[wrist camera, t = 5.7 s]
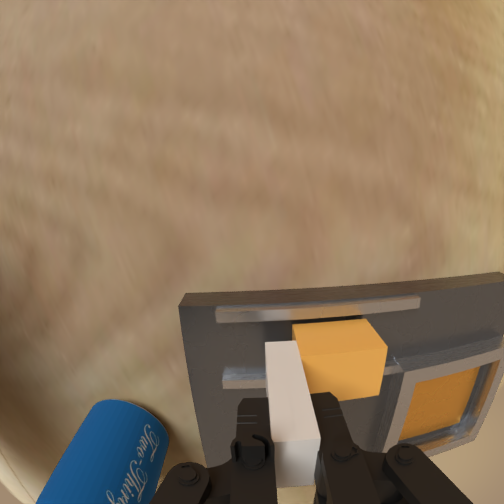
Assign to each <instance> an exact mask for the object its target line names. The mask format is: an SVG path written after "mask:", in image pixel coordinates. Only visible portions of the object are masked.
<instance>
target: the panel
mask: <svg viewBox="0 0 504 504" xmlns="http://www.w3.org/2000/svg"><path fill="white" fill-rule="evenodd" d="M178 307H179V315H180V322H181V329H182V336H183V343H184V350H185V356H186V362H187V368H188V374H189V380H190V386H191V391H192V397H193V402H194V407H195V412H196V417H197V422H198V427H199V432H200V437H201V441H202V446H203V451H204V455H205V459H206V464H207V468H210V467H215V466H219V465H222V464H224V463H226V462H228V461H229V460H230V459H231V458H232V456H231V449H230V445H231V443H232V440H233V439H235V438H236V426H237V410H238V405H239V404H240V402H241V401H242V399H243V398H263V397H267V394H266V364H265V342H278V341H292V324H306V323H320V322H333V321H344V320H355V319H365V318H366V319H367V321H368V322H369V323H370V324H371V326H372V327H373V328H374V330H375V331H376V332H377V333H378V335H379V336H380V337H381V339H382V340H383V341H384V343H385V344H386V345H387V347H388V349H387V355H386V361H385V367H384V372H383V377H382V382H381V387H380V392H379V395H376V396H370V397H364V398H358V399H351V400H344V401H338V402H339V404H340V408H341V410H342V413H343V416H344V418H345V421H346V424H347V427H348V430H349V432H350V435H351V438H352V440H353V442H354V443H355V444H357V445H358V446H359V447H360V448H361V449H362V450H365V451H368V452H379V453H387V452H388V450H389V449H390V448H391V447H393V446H394V445H397V444H401V443H409V444H412V445H415V446H417V447H418V448H419V449H421V450H422V451H423V453H424V454H425V455H426V456H427V457H430V456H433V455H436V454H439V453H442V452H445V451H448V450H451V449H453V448H456V447H459V446H461V445H464V444H466V443H469V442H471V441H473V440H475V438H476V436H477V434H478V432H479V430H480V428H481V426H482V424H483V422H484V420H485V418H486V415H487V413H488V411H489V409H490V406H491V404H492V402H493V399H494V397H495V394H496V392H497V389H498V387H499V384H500V382H501V379H502V376H503V373H504V337H503V335H504V274H503V273H501V272H493V273H485V274H476V275H467V276H458V277H448V278H438V279H427V280H417V281H405V282H393V283H381V284H368V285H354V286H339V287H323V288H306V289H287V290H266V291H242V292H211V293H186V294H185V295H184V297H183V299H182V301H181V302H180V304H179V306H178Z"/></svg>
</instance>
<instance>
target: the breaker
mask: <svg viewBox="0 0 504 504" xmlns="http://www.w3.org/2000/svg"><path fill="white" fill-rule="evenodd" d="M292 341H296V342H297V346H298V350H299V354H300V357H301V361H302V365H303V369H304V373H305V377H306V381H307V385H308V389H309V393H310V394H312V393H323V392H331V393H332V394H333V395H334V396H335V397H336V398H337V399H338V401H344V400H351V399H358V398H364V397H370V396H376V395H379V392H380V387H381V382H382V377H383V372H384V367H385V361H386V355H387V349H388V347H387V345H386V344H385V343H384V341H383V340H382V339H381V337H380V336H379V335H378V333H377V332H376V331H375V330H374V328H373V327H372V326H371V324H370V323H369V322H368V321H367V319H366V318H365V319H355V320H344V321H333V322H320V323H306V324H292Z"/></svg>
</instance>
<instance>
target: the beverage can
mask: <svg viewBox="0 0 504 504" xmlns="http://www.w3.org/2000/svg"><path fill="white" fill-rule="evenodd" d="M168 445H169V437H168V433H167V431H166V429H165V428H164V426H163V425H162V423H161V422H160V421H159V420H158V419H157V418H156V417H155V416H153V415H152V414H151V413H149V412H148V411H147V410H145V409H143V408H142V407H140V406H138V405H136V404H133V403H130V402H127V401H123V400H117V399H106V400H102V401H99V402H98V403H96V404H95V405H94V406H93V407H92V409H91V410H90V412H89V413H88V415H87V417H86V418H85V420H84V421H83V423H82V425H81V426H80V428H79V430H78V431H77V433H76V434H75V436H74V438H73V439H72V441H71V443H70V444H69V446H68V448H67V449H66V451H65V453H64V454H63V456H62V458H61V459H60V461H59V463H58V465H57V466H56V468H55V470H54V471H53V473H52V475H51V477H50V478H49V480H48V482H47V484H46V485H45V487H44V489H43V491H42V492H41V494H40V496H39V498H38V500H37V502H36V504H149V503H150V501H151V500H152V498H153V496H154V495H155V491H156V488H157V484H158V480H159V477H160V473H161V470H162V466H163V463H164V459H165V455H166V452H167V448H168Z"/></svg>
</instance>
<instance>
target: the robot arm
mask: <svg viewBox="0 0 504 504" xmlns="http://www.w3.org/2000/svg"><path fill="white" fill-rule="evenodd" d="M265 364H266V394H267V397H263V398H243V399H242V401H241V402H240V404H239V405H238V410H237V426H236V438H235V439H233V440H232V443H231V445H230V449H231V456H232V458H231V459H230V460H229V461H228V462H226V463H224V464H222V465H219V466H215V467H210V468H205V467H204V466H202V465H200V464H198V463H192V462H186V463H180V464H178V465H176V466H174V467H173V468H172V469H171V470H170V471H169V472H168V474H167V476H166V477H165V479H164V480H163V482H162V484H161V485H160V487H159V488H158V490H157V492H156V493H155V495H154V496H153V498H152V500H151V501H150V503H149V504H278V502H277V488H283V487H296V486H306V485H314V479H315V483H316V492H315V497H314V503H313V504H473V503H472V502H471V501H470V500H469V499H468V498H467V497H466V496H465V495H464V494H463V493H462V492H461V491H460V490H459V489H458V488H457V487H456V486H455V484H454V483H453V482H452V481H451V480H450V479H449V478H448V477H447V476H446V475H445V474H444V473H443V472H442V471H441V470H440V469H439V468H438V467H437V466H436V465H435V464H434V463H433V462H432V461H431V460H430V459H429V458H428V457H427V456H426V455H425V454H424V453H423V451H422V450H421V449H419V448H418V447H417V446H415V445H412V444H409V443H401V444H397V445H394V446H393V447H391V448H390V449H389V450H388V452H387V453H379V452H368V451H365V450H362V449H361V448H360V447H359V446H358V445H357V444H355V443H354V442H353V440H352V438H351V435H350V432H349V430H348V427H347V424H346V421H345V418H344V416H343V413H342V410H341V408H340V404H339V402H338V399H337V398H336V397H335V396H334V395H333V394H332V393H331V392H323V393H312V394H310V393H309V389H308V385H307V381H306V377H305V373H304V369H303V365H302V361H301V357H300V354H299V350H298V346H297V342H296V341H278V342H265Z"/></svg>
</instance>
